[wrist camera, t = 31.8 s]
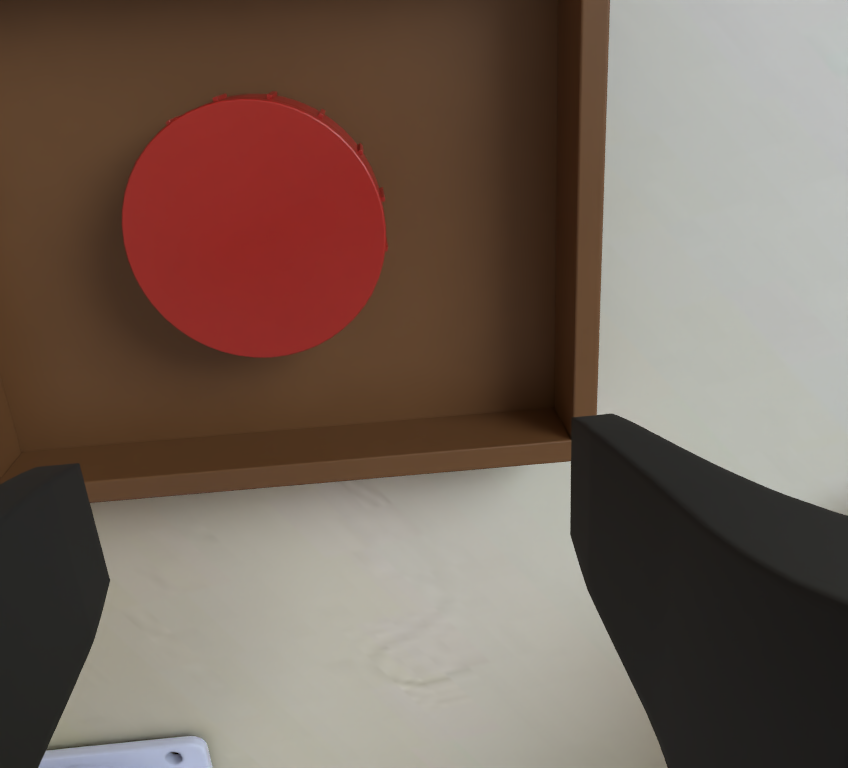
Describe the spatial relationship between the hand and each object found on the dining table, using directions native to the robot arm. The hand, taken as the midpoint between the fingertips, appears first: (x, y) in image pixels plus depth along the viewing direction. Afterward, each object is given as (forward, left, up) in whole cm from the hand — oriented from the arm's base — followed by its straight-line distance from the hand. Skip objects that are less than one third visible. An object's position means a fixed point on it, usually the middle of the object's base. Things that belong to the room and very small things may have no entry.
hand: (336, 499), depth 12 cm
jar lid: (-2, +3, -8) cm, 8 cm away
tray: (-2, +2, -10) cm, 10 cm away
